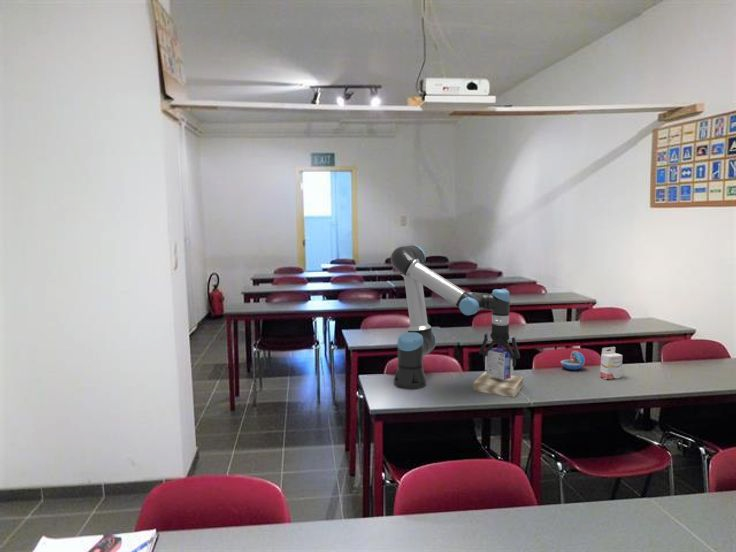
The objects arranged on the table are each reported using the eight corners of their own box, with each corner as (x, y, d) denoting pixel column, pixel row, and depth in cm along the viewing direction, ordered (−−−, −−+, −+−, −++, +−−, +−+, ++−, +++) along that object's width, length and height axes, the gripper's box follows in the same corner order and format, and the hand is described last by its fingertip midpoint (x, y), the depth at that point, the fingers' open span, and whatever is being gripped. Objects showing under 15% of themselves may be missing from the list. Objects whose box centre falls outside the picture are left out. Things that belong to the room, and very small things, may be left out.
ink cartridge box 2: (607, 380, 233) (609, 350, 232) (599, 377, 238) (601, 347, 236) (621, 378, 236) (623, 348, 234) (613, 375, 241) (615, 346, 239)
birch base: (473, 390, 220) (473, 382, 220) (484, 379, 236) (484, 371, 235) (514, 397, 211) (514, 388, 211) (523, 385, 227) (523, 377, 227)
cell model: (556, 366, 255) (557, 349, 254) (578, 366, 256) (578, 348, 255) (566, 372, 245) (566, 354, 244) (588, 371, 247) (589, 353, 246)
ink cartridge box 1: (511, 378, 221) (512, 346, 219) (504, 380, 217) (505, 348, 216) (493, 372, 228) (494, 342, 227) (486, 375, 225) (487, 344, 223)
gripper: (472, 322, 223) (471, 369, 225) (525, 328, 211) (523, 377, 214) (477, 319, 229) (476, 365, 232) (528, 324, 218) (526, 372, 220)
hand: (499, 371), depth 223 cm, fingers closed on ink cartridge box 1, 11 cm apart
